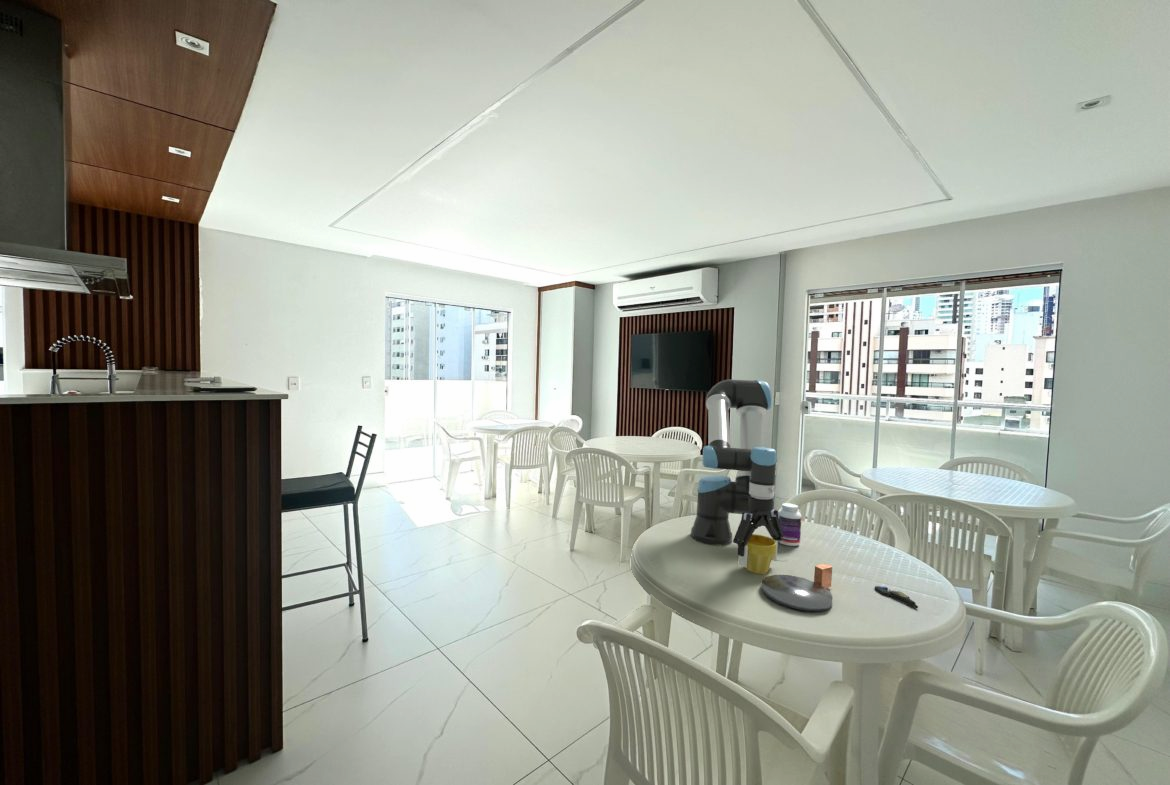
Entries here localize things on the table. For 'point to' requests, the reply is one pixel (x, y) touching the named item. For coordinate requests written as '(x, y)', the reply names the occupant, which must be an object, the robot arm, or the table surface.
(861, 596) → the table surface
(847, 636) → the table surface
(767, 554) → the plant pot
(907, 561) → the table surface
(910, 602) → the micrometer
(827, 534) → the table surface
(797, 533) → the pill bottle
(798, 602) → the grey round piece
